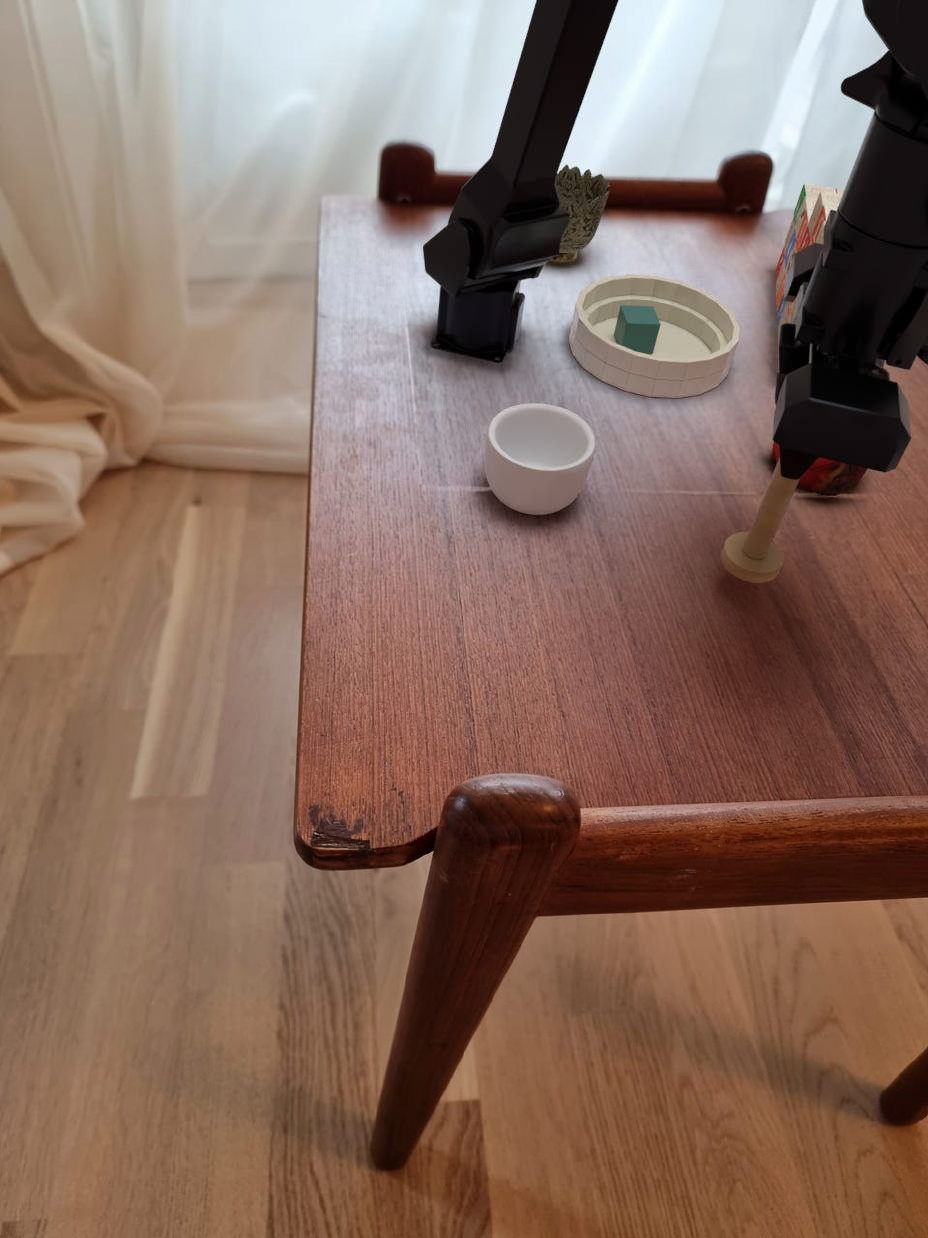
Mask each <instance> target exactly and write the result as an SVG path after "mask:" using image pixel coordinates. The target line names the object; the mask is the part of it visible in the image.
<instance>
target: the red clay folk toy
mask: <svg viewBox="0 0 928 1238" xmlns="http://www.w3.org/2000/svg"><path fill="white" fill-rule="evenodd" d="M883 364H884V365H885V364H886V360H883ZM779 458H780V457H779V445H778V444H777V443H775V442H774V441H773V442H772V451H771V459H772V461H773V462H775V464H776V465H775V466H777V463H778V461H779ZM867 471H868V469H867V468H863V467H859V466H854V465H850V464H846V463H842V462H837V461H833V460H829V459H824V458H820V457H819V458H818V459H817V460H816V461H815V463H814V464H813V465H812V466H811V467H810V468H809V469H808V470H807V471H806V472H805V473H804V474H803V476H802V477H801V478H800V480H799V482H798V484H797V486H798V487H799V488H800V489H804V490H806V491H811V492H813V493H815V494H816V495H819V496H824V497H836V496H838V495H840V494H842V492H844V491H845V489H847V488H850V487H851V486H853V485H854V484H856V483H857V482H859V481H860V480H861V479H862V478H863V476H864V475H865V474H866V472H867Z"/></svg>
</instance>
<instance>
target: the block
mask: <svg viewBox="0 0 928 1238" xmlns="http://www.w3.org/2000/svg"><path fill="white" fill-rule="evenodd" d="M660 325H661V324H660V322H659V319H658V317H657V314H656V312H655V310H654V307H652V306H629V305H621V306H620V310H619V314H618V319H617V323H616V327H615V332H614V337H615V340H616V343H617V344H619V345H621V346H624V347H626V348H629V349H631V350H633V351H636V352H640V353H645V354H653V351H654V347H655V343H656V340H657V336H658V332H659V329H660Z"/></svg>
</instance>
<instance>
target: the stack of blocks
mask: <svg viewBox="0 0 928 1238" xmlns="http://www.w3.org/2000/svg"><path fill="white" fill-rule="evenodd" d="M844 190H845V188H844V189H843V188H835V187H828V186H823V185H817V184H813V183H807V182H804V183H803V185H802V188H801V190H800V194H799V196H798V199H797V202H796V204H795V208H794V211H793V218H792V220H791V223H790V226H789V230H788V232H787V234H786V237H785V240H784V246H783V248H782V250H781V253H780V256H779V259H778V262H777V265H776V268H775V275H776V281H775V301H776V305H775V306H776V314H777V362H776V363H777V365H776V366H777V373H779V338H780V328H781V325H783V324H785V323H791V324H796V316H797V299H798V296H799V293H800V290H801V288H802V285H801V287H800V290H799V293H798V295H797V297H796V299H795V300H794V302H793V303H792V302H788V301H783V299H784V286H785V280H786V277H787V274H788V271H789V268H790V266H791V263H792V260H793V257H794V255H795V253H797V252H799V251H801V250H802V249H804V248H806V247H808V246H810V245H811V244H813V243H819V244H823V242H824V226H825V223H826V221H827V218H828V215H829V213H830V210H835V211H837V209H838V206H839V203H840V200H841V198H842V195H843V193H844ZM824 243H825V242H824Z"/></svg>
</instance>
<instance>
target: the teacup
mask: <svg viewBox="0 0 928 1238" xmlns="http://www.w3.org/2000/svg"><path fill="white" fill-rule="evenodd" d="M595 454H596V437H595V433H594V432H593V429H592V428H591V426H590V425H589V424H588V423H587V421H586V420H584V419H583V418H582V417H581V416H579V415H578V414H576V413H575V412H572V411H570V410H569V409H567V408H565V407H561V406H557V405H554V404H549V403H540V402H530V403H529V402H527V403H520V404H516V405H513V406H509V407H507V408H504V409H503V410H501V411H500V412H498V414H496V415H495V416H494V417H493V418H492V420H491V421H490V423H489V425H488V427H487V431H486V435H485V443H484V472H485V473H484V474H485V477H486V480H487V483H488V485H489V488H490V490H491V491H492V493H493V494H494V496H495V497H496V498H497V499H498V500H499V501H500V502H501V503H502V504H504V505H505V506H506V507H508V508H510V509H511V510H513V511H516V512H519V513H522V514H525V515H533V516H538V515H539V516H544V515H548V514H553V513H556V512H559V511H561V510H563V509H564V508H566V507H567V506H569V505H571V504H572V503H573V502H574V501H575V500H576V498H577V497H578V496H579V494H580V492H581V490H582V488H583V486H585V485H584V484H585V482H586V480H587V478H588V475H589V472H590V469H591V467H592V463H593V461H594V458H595Z"/></svg>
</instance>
